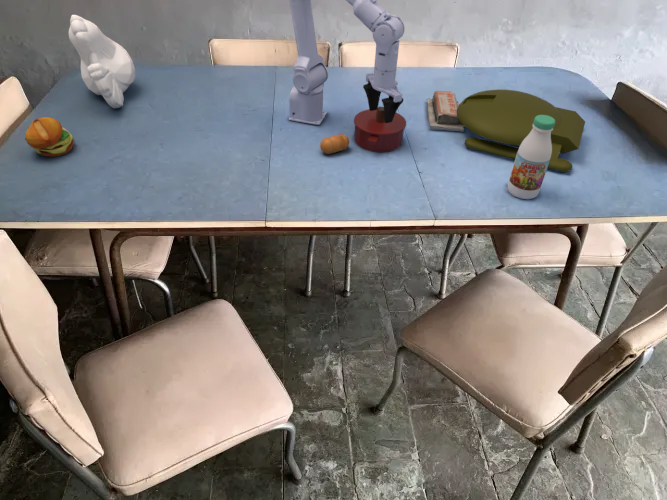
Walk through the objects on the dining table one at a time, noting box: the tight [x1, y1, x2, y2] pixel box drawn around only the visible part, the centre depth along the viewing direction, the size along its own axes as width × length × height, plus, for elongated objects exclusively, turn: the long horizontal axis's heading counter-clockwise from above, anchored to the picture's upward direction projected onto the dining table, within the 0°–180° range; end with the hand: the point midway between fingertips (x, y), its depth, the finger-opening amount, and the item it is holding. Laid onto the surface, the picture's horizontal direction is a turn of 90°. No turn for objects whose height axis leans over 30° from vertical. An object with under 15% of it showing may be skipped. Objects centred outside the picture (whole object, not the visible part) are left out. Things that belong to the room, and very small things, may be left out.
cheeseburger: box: [24, 116, 74, 157], centre depth 142 cm, size 10×11×10 cm
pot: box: [353, 124, 405, 153], centre depth 153 cm, size 13×19×5 cm
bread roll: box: [319, 133, 350, 155], centre depth 148 cm, size 8×4×4 cm, turn 119°
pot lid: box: [353, 106, 407, 135], centre depth 150 cm, size 14×14×5 cm
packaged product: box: [426, 90, 465, 133], centre depth 165 cm, size 18×5×10 cm
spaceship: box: [457, 89, 586, 173], centre depth 156 cm, size 35×31×10 cm
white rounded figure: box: [68, 14, 136, 109], centre depth 160 cm, size 25×16×25 cm
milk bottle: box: [507, 115, 555, 200], centre depth 131 cm, size 8×8×20 cm
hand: (380, 115), depth 150 cm, fingers open, 7 cm apart
